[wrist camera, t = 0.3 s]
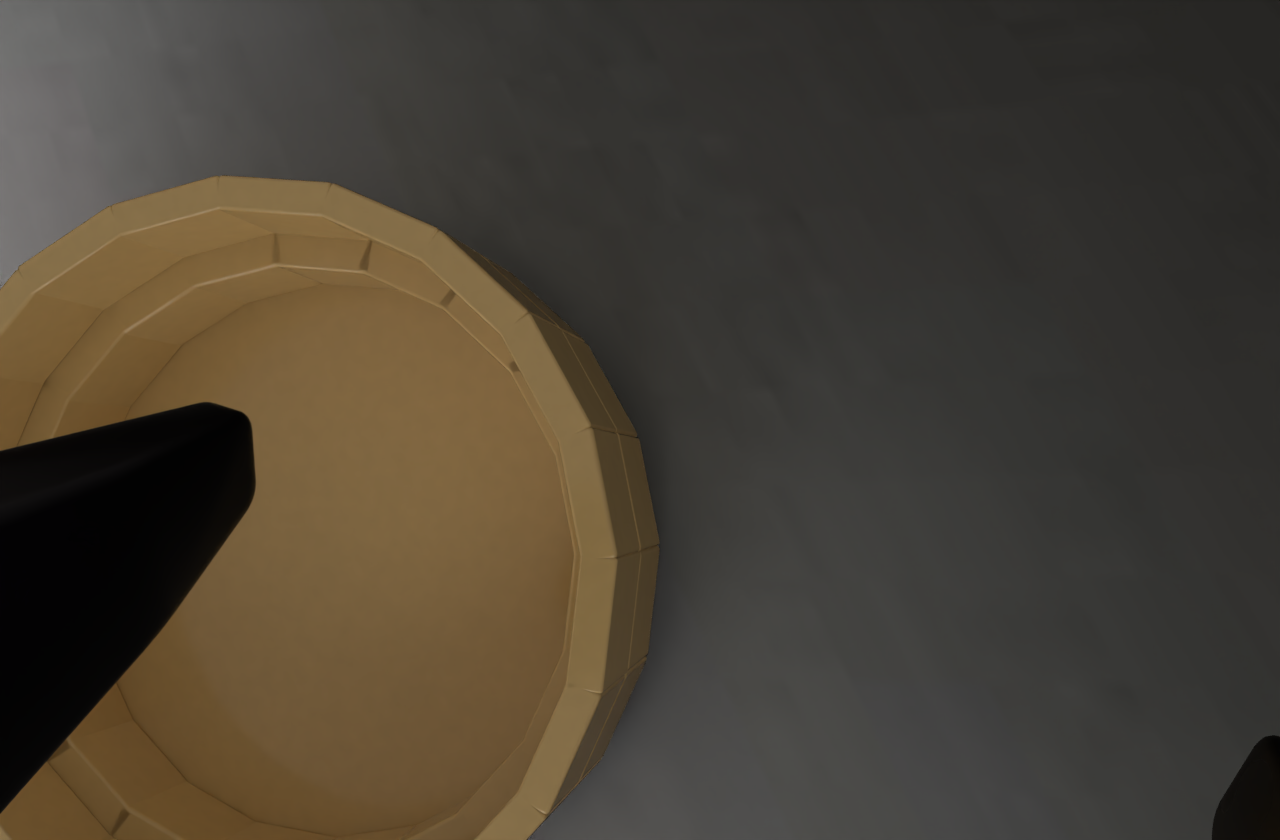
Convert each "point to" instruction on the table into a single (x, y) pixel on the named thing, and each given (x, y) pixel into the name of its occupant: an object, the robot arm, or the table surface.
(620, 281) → the table surface
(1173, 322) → the table surface
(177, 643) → the bowl
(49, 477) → the robot arm
